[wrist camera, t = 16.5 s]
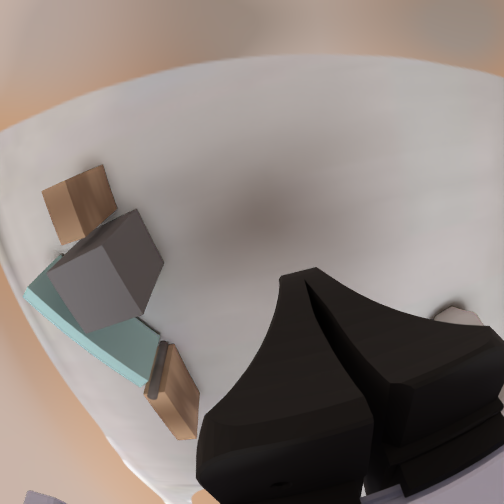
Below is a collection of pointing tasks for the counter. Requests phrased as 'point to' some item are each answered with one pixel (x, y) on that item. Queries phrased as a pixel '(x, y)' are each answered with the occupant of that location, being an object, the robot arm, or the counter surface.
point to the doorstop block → (108, 273)
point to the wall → (167, 357)
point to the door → (99, 333)
